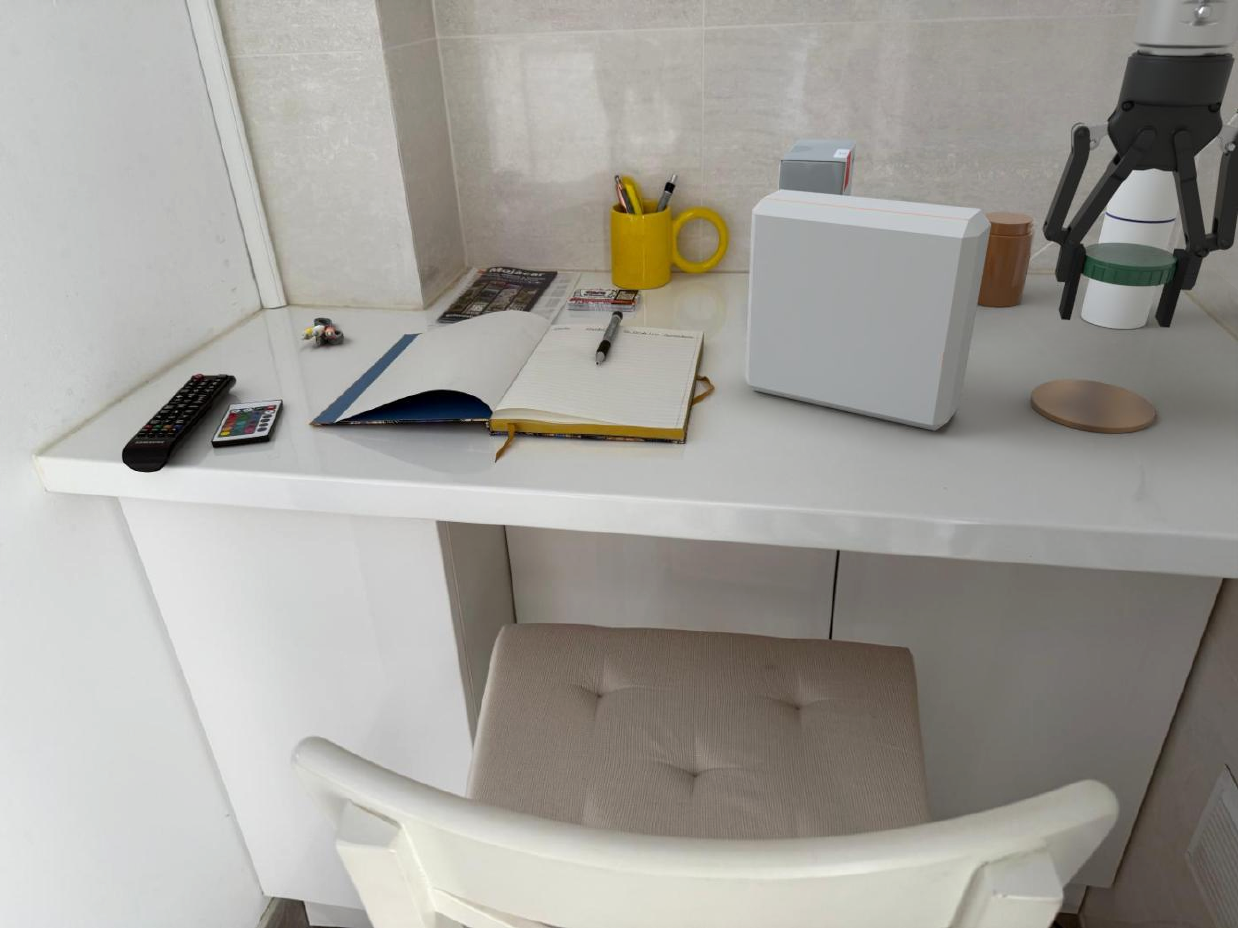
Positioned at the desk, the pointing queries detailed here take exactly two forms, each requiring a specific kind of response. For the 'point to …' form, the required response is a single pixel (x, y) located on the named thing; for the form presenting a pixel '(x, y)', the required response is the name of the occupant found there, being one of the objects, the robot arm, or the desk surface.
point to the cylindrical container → (1138, 219)
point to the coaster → (1093, 406)
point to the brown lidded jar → (1006, 259)
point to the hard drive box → (818, 166)
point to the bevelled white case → (864, 303)
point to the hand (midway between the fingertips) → (1112, 318)
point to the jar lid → (1129, 264)
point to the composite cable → (323, 332)
